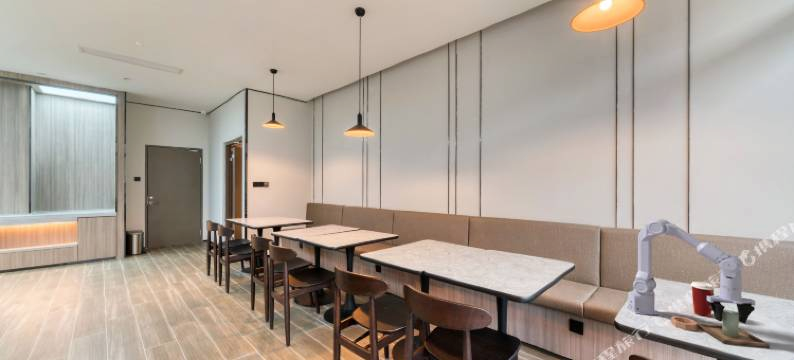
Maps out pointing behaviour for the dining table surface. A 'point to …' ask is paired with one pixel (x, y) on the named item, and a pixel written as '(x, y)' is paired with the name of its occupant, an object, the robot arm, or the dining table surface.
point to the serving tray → (743, 339)
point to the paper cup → (701, 298)
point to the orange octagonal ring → (684, 323)
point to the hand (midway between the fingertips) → (730, 321)
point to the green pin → (730, 324)
